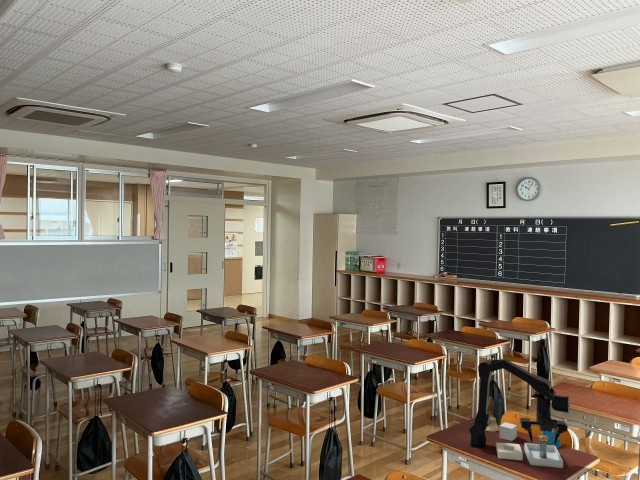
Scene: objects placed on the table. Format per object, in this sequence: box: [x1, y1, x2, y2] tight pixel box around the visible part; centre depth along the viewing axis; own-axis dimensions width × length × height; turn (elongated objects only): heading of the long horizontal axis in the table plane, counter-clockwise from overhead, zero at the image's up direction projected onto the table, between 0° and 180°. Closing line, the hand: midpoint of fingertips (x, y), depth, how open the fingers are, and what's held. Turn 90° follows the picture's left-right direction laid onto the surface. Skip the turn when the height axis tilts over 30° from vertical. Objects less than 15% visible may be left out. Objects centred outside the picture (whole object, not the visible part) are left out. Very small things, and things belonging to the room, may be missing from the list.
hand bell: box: [485, 396, 500, 433], centre depth 264 cm, size 8×8×16 cm
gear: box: [541, 430, 562, 449], centre depth 245 cm, size 11×6×10 cm
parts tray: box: [523, 442, 564, 469], centre depth 229 cm, size 13×16×3 cm
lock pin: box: [537, 434, 549, 459], centre depth 229 cm, size 4×4×9 cm
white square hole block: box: [495, 441, 524, 461], centre depth 233 cm, size 10×10×3 cm
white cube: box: [499, 422, 518, 442], centre depth 252 cm, size 6×6×6 cm
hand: (543, 443), depth 229 cm, fingers open, 9 cm apart
